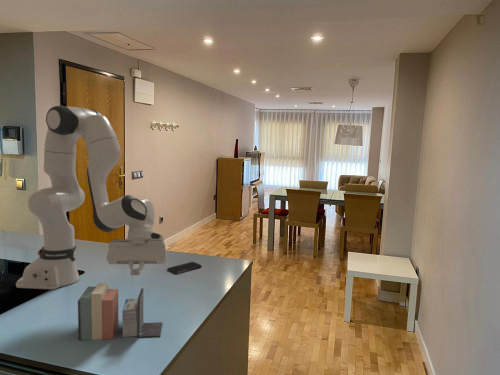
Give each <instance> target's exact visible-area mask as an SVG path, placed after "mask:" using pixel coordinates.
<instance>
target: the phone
mask: <svg viewBox="0 0 500 375" xmlns="http://www.w3.org/2000/svg"><path fill="white" fill-rule="evenodd" d="M202 267H203V266H202V264H200V263H196V262H195V261H190V262H186V263H182V264H178V265H175V266H170V267H167V268H166V270H167V271H168V272H170V273H172V274H174V275H179V274H183V273H187V272H190V271H194V270H197V269H201V268H202Z"/></svg>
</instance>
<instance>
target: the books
mask: <svg viewBox="0 0 500 375" xmlns="http://www.w3.org/2000/svg"><path fill="white" fill-rule="evenodd" d="M79 299H80V317H81V340H80V341H93V340H94V341H96V340H113V339H114V337H115V334H116V332H117V329H118V327H119V288H110V289H109V283H108V282H106V283H105V282H104V283H103V282H101V283H99V282H98V283H97V284H96V286H95V285H94V286H87V287H86V289H85V290H84V291H83V293H82V295H81V296H80V297H79Z"/></svg>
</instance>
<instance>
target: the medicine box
mask: <svg viewBox="0 0 500 375" xmlns="http://www.w3.org/2000/svg"><path fill="white" fill-rule="evenodd" d="M121 312H122V314H121V316H122V337H123V338H129V337H138V298H128V299H125V301H124V306H123V308H122V311H121Z"/></svg>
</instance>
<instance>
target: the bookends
mask: <svg viewBox="0 0 500 375" xmlns="http://www.w3.org/2000/svg"><path fill="white" fill-rule="evenodd" d="M137 299H138V336H137V338H158V337H159V338H160V337H161V334H162V328H163V322H162V321H161V322H160V321H159V322H157V321H156V322H144V288H141V289H140V292H139V295H138V297H137ZM77 322H78V324H77V327H78V328H77V332H78V341H82V340H81V317H80V298H79V299H78V300H77Z"/></svg>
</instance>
